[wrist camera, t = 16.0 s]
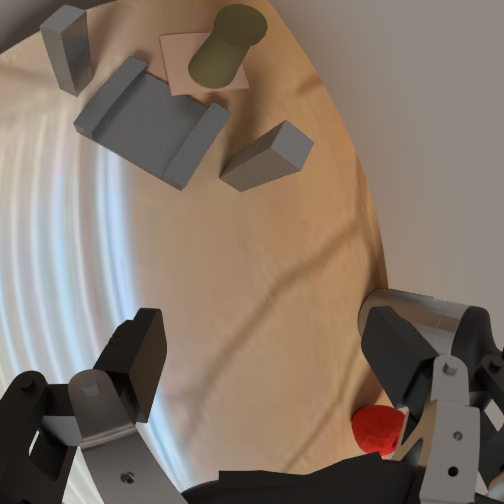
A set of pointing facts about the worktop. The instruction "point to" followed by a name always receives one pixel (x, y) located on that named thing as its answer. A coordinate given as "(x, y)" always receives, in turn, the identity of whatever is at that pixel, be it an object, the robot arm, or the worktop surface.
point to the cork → (227, 46)
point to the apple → (377, 428)
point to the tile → (178, 58)
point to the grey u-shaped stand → (160, 117)
